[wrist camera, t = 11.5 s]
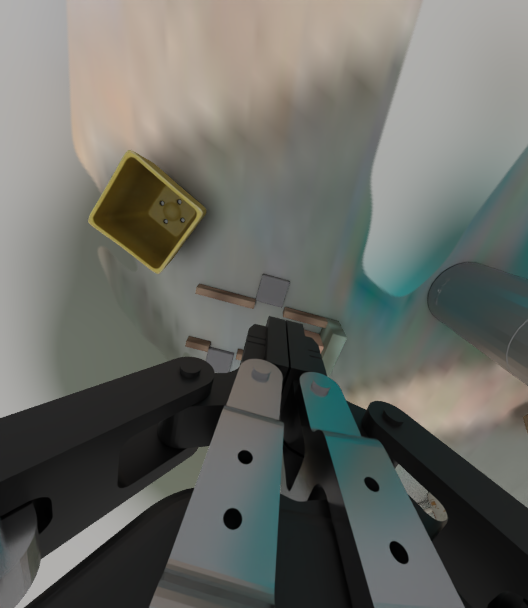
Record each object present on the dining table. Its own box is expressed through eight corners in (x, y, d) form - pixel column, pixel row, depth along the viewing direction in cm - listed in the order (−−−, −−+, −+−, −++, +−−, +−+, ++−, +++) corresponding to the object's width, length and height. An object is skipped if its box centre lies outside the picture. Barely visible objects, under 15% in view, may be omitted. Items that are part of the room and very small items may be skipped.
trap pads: (297, 286, 39) (297, 287, 38) (224, 378, 45) (223, 380, 45) (268, 266, 38) (268, 267, 37) (197, 362, 44) (196, 365, 44)
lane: (338, 321, 41) (347, 337, 36) (316, 373, 44) (321, 394, 40) (199, 283, 39) (189, 295, 34) (188, 341, 43) (177, 359, 38)
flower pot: (220, 208, 35) (204, 212, 27) (183, 258, 38) (157, 276, 29) (164, 159, 33) (127, 147, 25) (128, 215, 36) (85, 221, 27)
